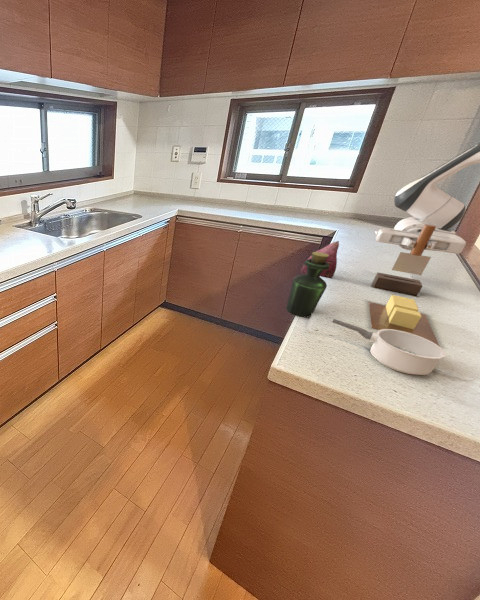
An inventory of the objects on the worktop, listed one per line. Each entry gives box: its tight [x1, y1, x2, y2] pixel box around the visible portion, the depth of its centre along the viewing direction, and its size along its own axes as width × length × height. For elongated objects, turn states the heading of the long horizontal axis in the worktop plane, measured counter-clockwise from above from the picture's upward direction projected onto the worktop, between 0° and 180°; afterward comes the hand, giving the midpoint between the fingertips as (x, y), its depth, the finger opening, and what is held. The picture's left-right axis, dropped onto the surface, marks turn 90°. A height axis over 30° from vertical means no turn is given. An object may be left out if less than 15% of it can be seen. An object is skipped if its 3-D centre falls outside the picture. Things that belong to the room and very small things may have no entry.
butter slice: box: [389, 307, 422, 329], centre depth 87 cm, size 5×3×4 cm, turn 53°
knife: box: [391, 225, 436, 276], centre depth 99 cm, size 7×3×15 cm, turn 53°
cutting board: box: [368, 301, 440, 347], centre depth 90 cm, size 13×20×2 cm, turn 143°
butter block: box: [385, 294, 419, 317], centre depth 92 cm, size 5×8×4 cm, turn 143°
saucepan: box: [331, 318, 446, 376], centre depth 76 cm, size 12×20×6 cm, turn 47°
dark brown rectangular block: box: [371, 272, 423, 297], centre depth 109 cm, size 11×6×5 cm, turn 53°
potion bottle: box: [285, 251, 329, 318], centre depth 92 cm, size 8×8×18 cm
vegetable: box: [300, 240, 340, 280], centre depth 121 cm, size 10×10×15 cm
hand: (420, 245), depth 98 cm, fingers closed on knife, 2 cm apart
